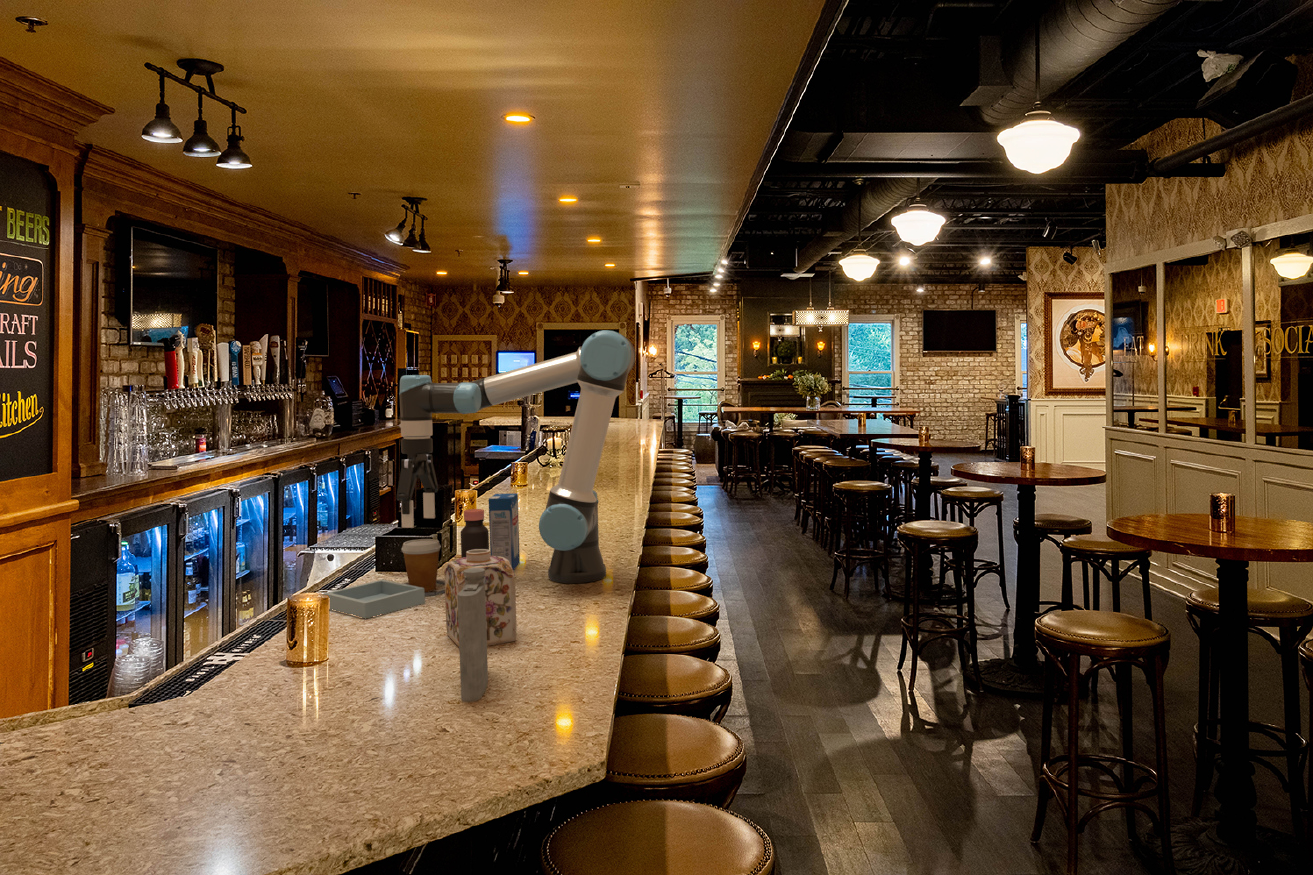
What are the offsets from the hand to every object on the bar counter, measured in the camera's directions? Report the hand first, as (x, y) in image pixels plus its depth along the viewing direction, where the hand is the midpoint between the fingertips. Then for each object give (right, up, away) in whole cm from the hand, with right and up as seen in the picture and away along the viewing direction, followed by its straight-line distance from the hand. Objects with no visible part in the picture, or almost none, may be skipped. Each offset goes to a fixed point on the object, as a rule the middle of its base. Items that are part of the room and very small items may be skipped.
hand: (418, 522), depth 210 cm
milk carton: (+17, -15, +25) cm, 34 cm away
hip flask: (+28, -21, -65) cm, 74 cm away
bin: (-7, -18, -13) cm, 23 cm away
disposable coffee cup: (+1, -17, +1) cm, 17 cm away
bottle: (+14, -17, 0) cm, 22 cm away
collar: (+1, -17, +1) cm, 17 cm away
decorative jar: (+24, -20, -40) cm, 50 cm away
